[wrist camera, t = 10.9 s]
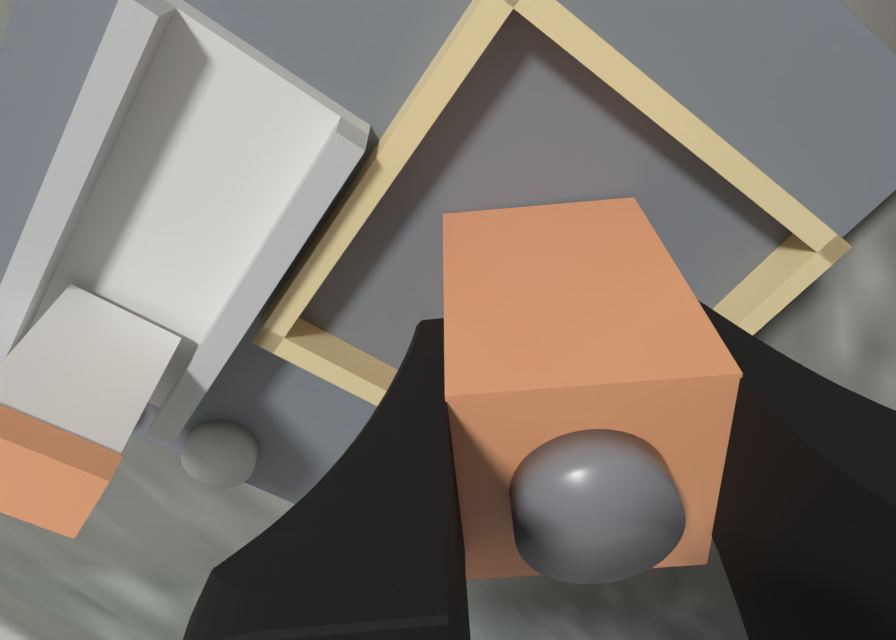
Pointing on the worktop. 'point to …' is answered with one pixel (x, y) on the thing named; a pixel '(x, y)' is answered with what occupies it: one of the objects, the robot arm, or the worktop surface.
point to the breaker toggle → (73, 406)
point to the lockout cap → (580, 394)
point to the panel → (403, 177)
